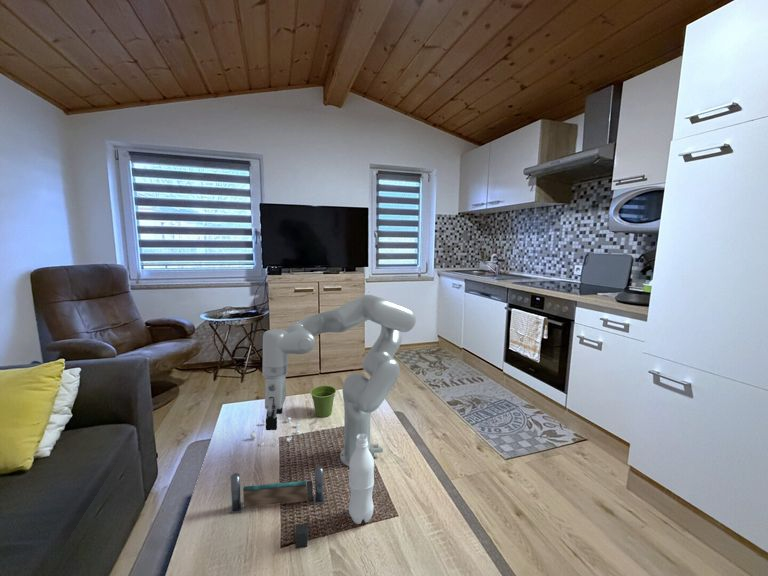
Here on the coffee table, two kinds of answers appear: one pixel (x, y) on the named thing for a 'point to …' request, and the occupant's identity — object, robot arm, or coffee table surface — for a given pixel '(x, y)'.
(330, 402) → the plant pot
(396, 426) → the coffee table surface
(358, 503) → the water bottle
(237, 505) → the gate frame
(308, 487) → the gate
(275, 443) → the scattered white fragments
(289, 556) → the coffee table surface
